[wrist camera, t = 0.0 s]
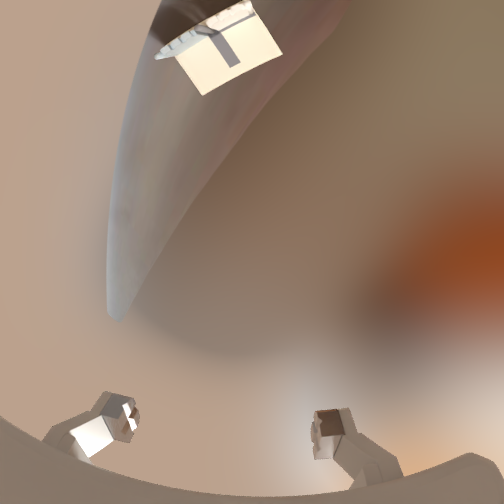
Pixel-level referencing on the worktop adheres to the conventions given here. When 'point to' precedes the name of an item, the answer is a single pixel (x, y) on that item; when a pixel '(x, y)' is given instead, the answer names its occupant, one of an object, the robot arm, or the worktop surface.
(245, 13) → the white fence panel
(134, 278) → the worktop surface
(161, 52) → the blue-grey fence panel
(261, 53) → the card
